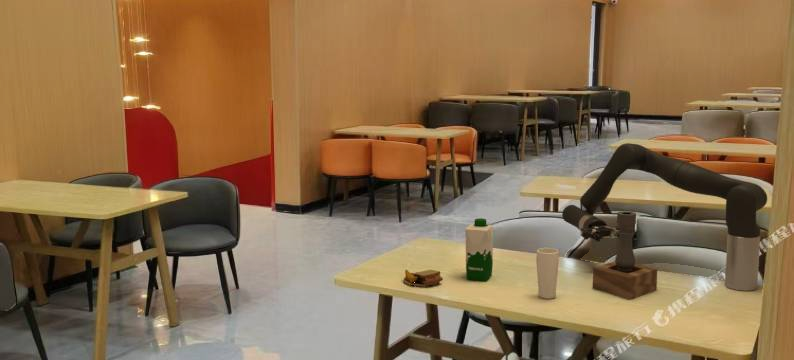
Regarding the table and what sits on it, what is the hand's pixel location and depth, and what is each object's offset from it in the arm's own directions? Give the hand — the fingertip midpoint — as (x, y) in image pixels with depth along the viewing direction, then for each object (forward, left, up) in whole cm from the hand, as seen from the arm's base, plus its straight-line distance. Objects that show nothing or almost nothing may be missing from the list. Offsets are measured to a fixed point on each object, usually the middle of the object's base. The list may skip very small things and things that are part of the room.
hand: (611, 238), depth 231 cm
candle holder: (+6, +10, -14) cm, 18 cm away
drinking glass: (+30, -1, -14) cm, 33 cm away
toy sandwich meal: (+50, -38, -15) cm, 64 cm away
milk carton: (+33, -29, -14) cm, 46 cm away
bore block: (+6, +10, -14) cm, 18 cm away
